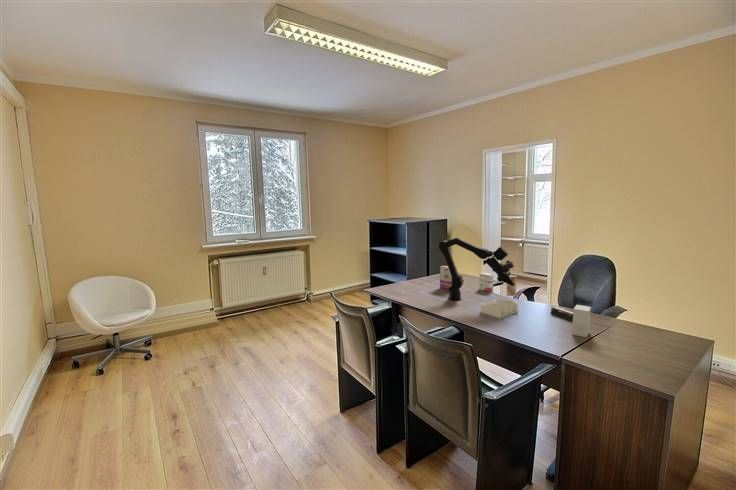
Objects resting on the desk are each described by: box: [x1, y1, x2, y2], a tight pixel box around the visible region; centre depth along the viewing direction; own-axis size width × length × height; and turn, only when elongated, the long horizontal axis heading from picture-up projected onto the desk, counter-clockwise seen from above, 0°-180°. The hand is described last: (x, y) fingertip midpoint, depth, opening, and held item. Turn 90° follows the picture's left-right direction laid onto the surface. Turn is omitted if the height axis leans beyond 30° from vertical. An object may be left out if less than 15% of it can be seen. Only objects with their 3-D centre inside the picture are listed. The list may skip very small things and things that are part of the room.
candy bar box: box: [439, 265, 458, 291], centre depth 250 cm, size 11×5×16 cm, turn 43°
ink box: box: [478, 272, 494, 292], centre depth 247 cm, size 8×5×12 cm, turn 39°
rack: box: [479, 297, 519, 320], centre depth 200 cm, size 13×18×6 cm
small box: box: [571, 304, 592, 338], centre depth 169 cm, size 8×6×13 cm
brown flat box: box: [550, 306, 573, 322], centre depth 194 cm, size 14×25×4 cm, turn 24°
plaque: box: [506, 274, 517, 297], centre depth 210 cm, size 5×3×12 cm, turn 63°
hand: (513, 284), depth 210 cm, fingers closed on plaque, 3 cm apart
